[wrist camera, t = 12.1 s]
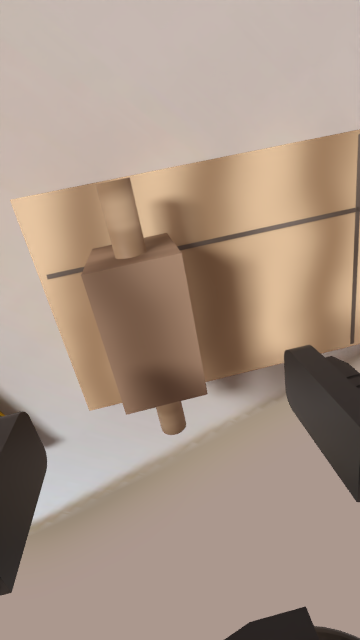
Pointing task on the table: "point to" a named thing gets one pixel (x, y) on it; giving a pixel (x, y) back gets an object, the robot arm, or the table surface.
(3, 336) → the table surface
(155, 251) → the tan peg block
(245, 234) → the oak board
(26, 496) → the robot arm
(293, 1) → the table surface
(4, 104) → the table surface
